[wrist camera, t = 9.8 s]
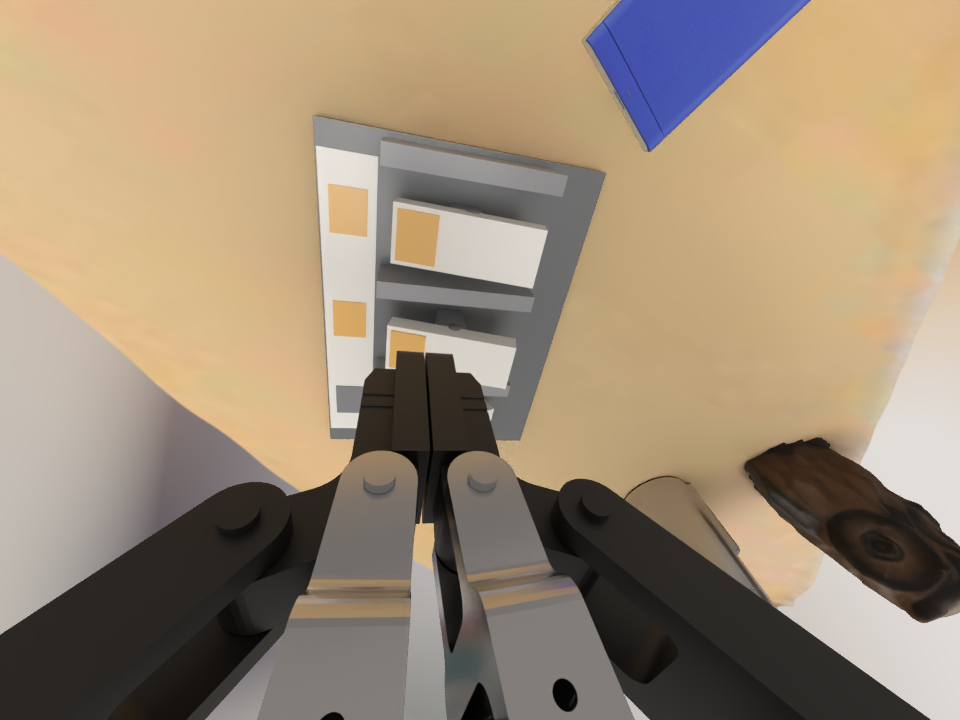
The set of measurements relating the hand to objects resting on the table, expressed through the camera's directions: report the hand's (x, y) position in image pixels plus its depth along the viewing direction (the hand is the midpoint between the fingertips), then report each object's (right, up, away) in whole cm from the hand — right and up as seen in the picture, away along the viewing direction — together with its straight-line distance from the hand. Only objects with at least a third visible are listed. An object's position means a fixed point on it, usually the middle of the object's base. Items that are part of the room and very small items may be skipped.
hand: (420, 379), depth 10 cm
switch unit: (-1, +4, +21) cm, 21 cm away
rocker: (+1, +8, +13) cm, 15 cm away
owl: (+44, -15, +43) cm, 63 cm away
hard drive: (+15, +22, +13) cm, 29 cm away
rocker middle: (0, +1, +17) cm, 17 cm away
